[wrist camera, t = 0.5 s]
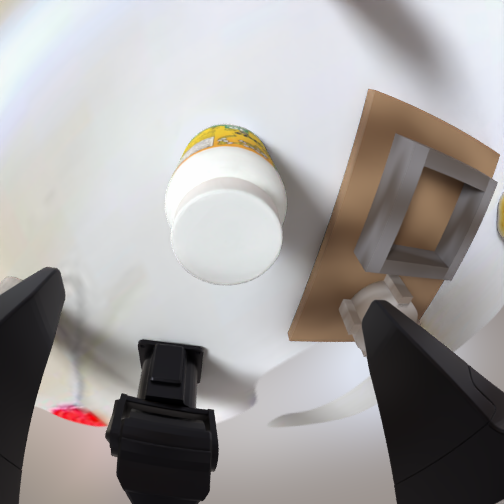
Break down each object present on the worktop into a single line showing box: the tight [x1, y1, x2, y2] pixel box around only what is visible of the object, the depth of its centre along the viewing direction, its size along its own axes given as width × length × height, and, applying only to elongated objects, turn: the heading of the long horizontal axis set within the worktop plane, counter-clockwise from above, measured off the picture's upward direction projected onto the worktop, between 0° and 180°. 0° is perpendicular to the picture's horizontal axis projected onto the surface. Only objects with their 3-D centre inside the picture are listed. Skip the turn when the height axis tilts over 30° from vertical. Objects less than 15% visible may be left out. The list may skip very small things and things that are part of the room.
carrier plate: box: [288, 89, 500, 357], centre depth 21 cm, size 22×14×4 cm, turn 169°
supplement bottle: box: [165, 124, 287, 285], centre depth 14 cm, size 5×5×10 cm
